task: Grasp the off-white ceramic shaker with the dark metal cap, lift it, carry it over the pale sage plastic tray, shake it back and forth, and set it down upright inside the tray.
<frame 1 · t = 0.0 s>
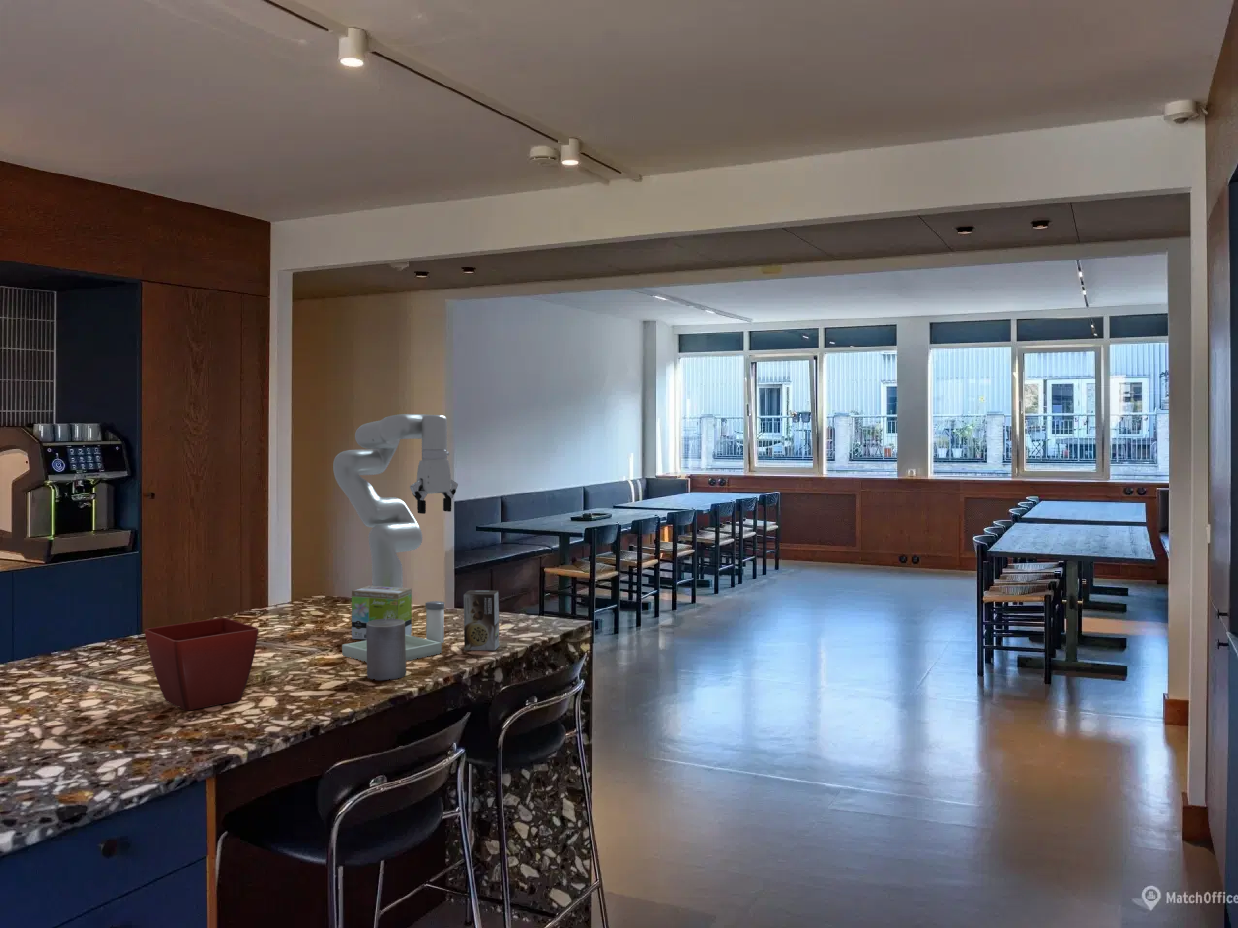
hand: (434, 512, 306), 37 cm above the kitchen island, tool pointing down, fingers open, 9 cm apart
plant pot: (202, 701, 232), on the kitchen island
tray: (392, 654, 279), on the kitchen island
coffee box: (481, 648, 288), on the kitchen island
shaker: (435, 641, 295), on the kitchen island
pillar candle: (386, 676, 256), on the kitchen island
tea box: (382, 638, 301), on the kitchen island
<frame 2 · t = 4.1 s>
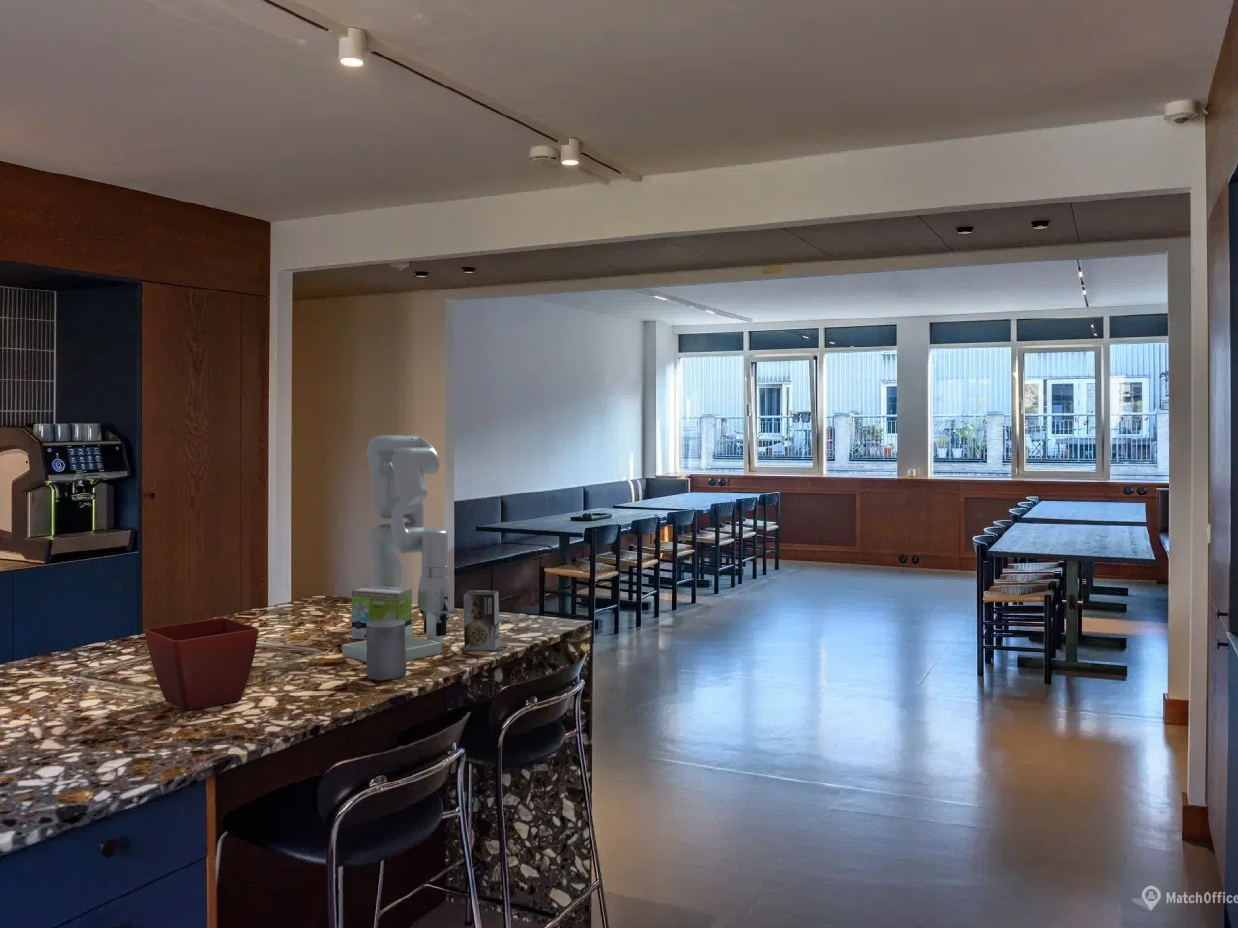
hand: (435, 633, 295), 2 cm above the kitchen island, tool pointing down, fingers closed on shaker, 5 cm apart
shaker: (435, 641, 295), on the kitchen island, touching gripper
everything else where it was.
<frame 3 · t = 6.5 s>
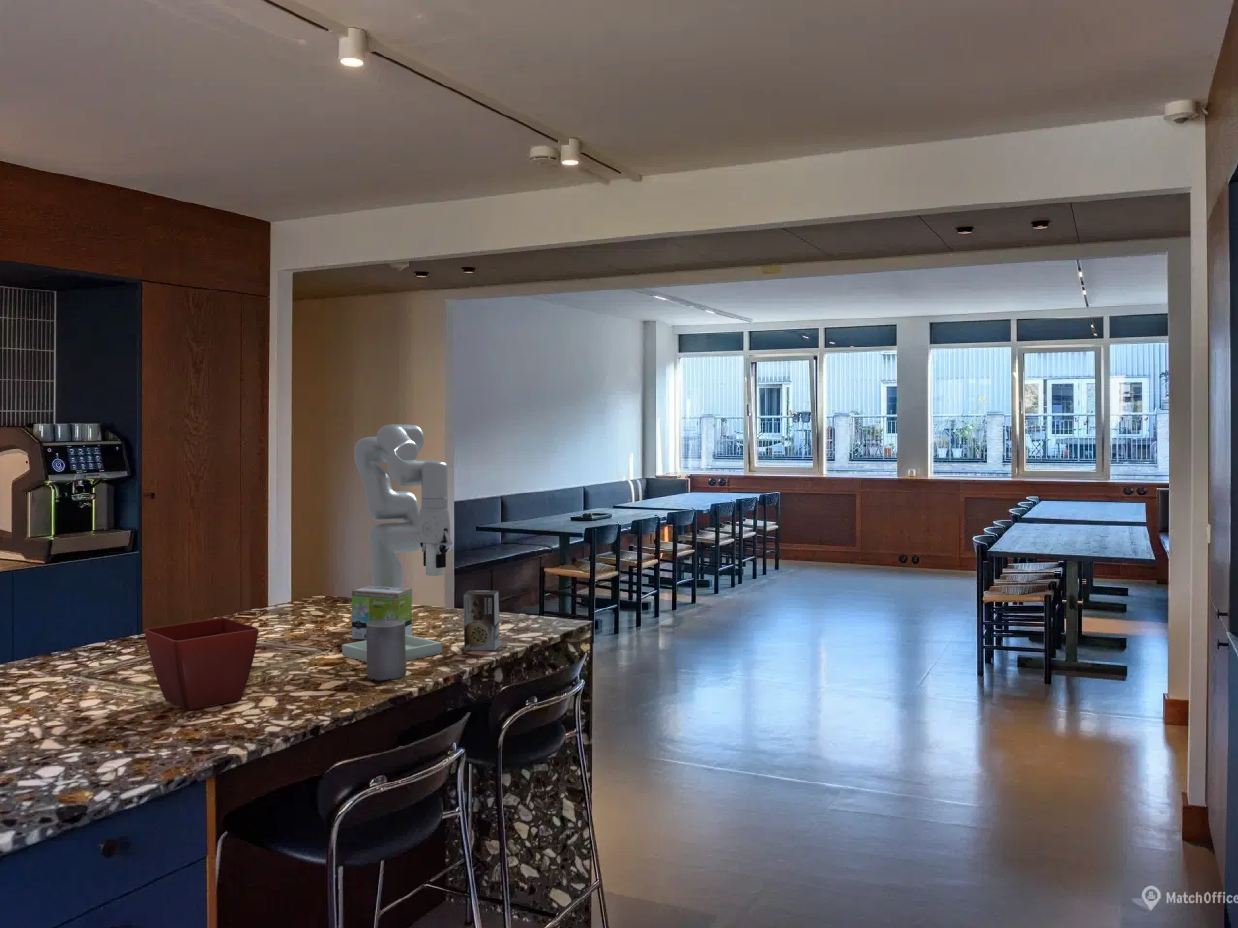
hand: (434, 565, 294), 22 cm above the kitchen island, tool pointing down, fingers closed on shaker, 5 cm apart
shaker: (434, 574, 295), point 20 cm above the kitchen island, touching gripper
everything else where it was.
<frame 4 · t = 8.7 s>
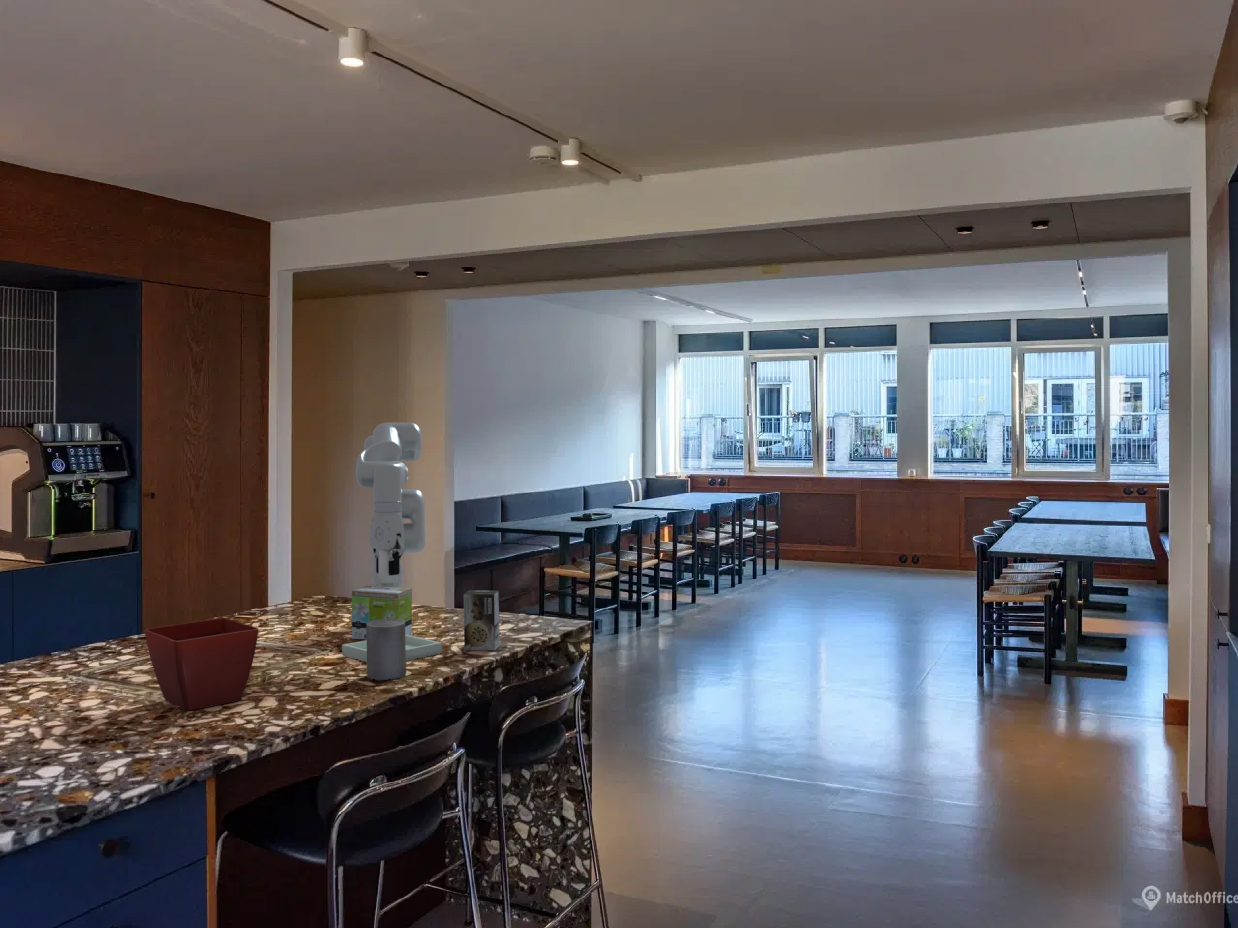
hand: (387, 572, 279), 22 cm above the kitchen island, tool pointing down, fingers closed on shaker, 5 cm apart
shaker: (387, 581, 280), point 20 cm above the kitchen island, touching gripper
everything else where it was.
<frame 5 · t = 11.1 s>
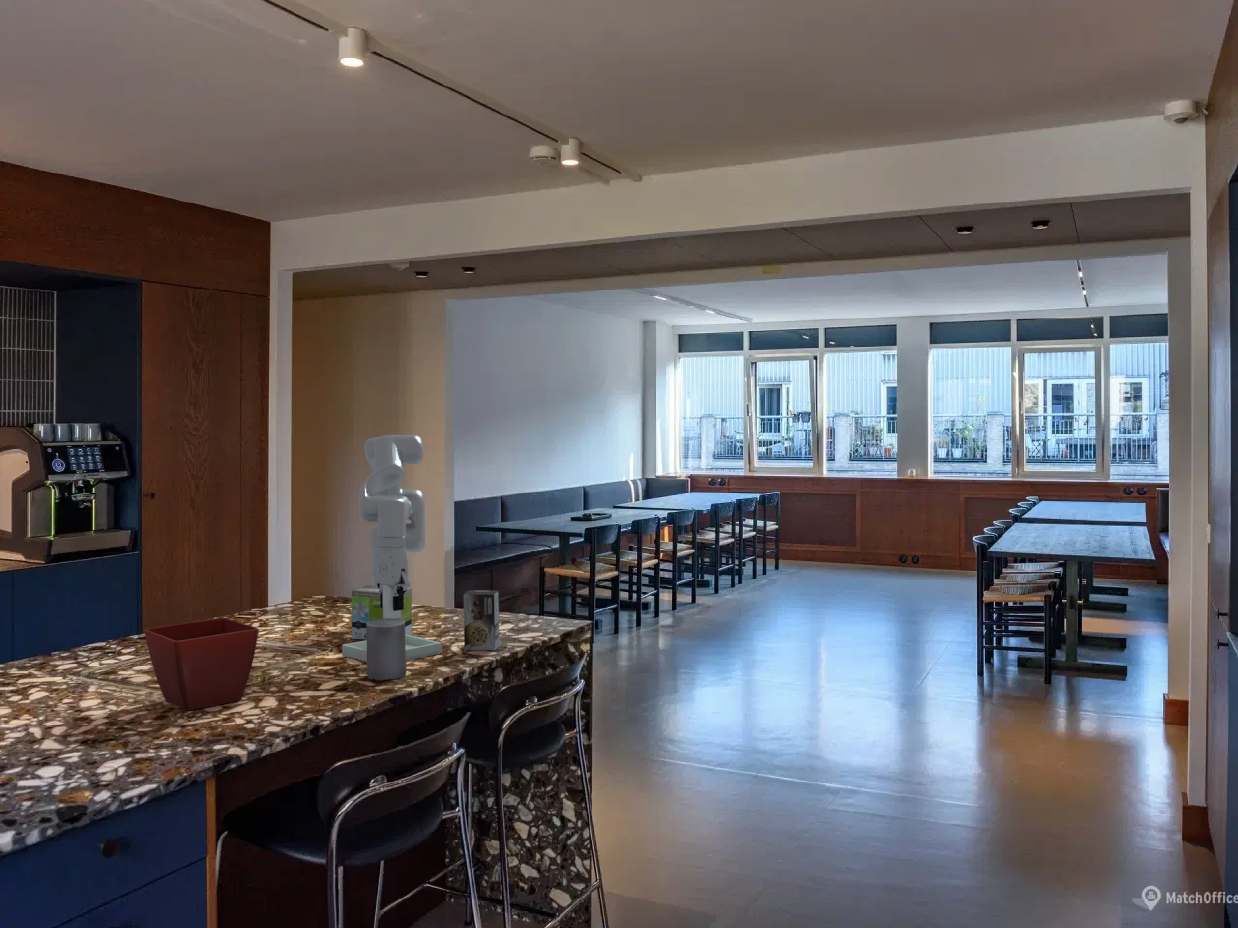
hand: (392, 608, 278), 13 cm above the kitchen island, tool pointing down, fingers closed on shaker, 5 cm apart
shaker: (392, 616, 279), point 10 cm above the kitchen island, touching gripper
everything else where it was.
when the fingers open (5 cm above the kitchen island, at t = 13.4 s): shaker drops 1 cm, resting on tray.
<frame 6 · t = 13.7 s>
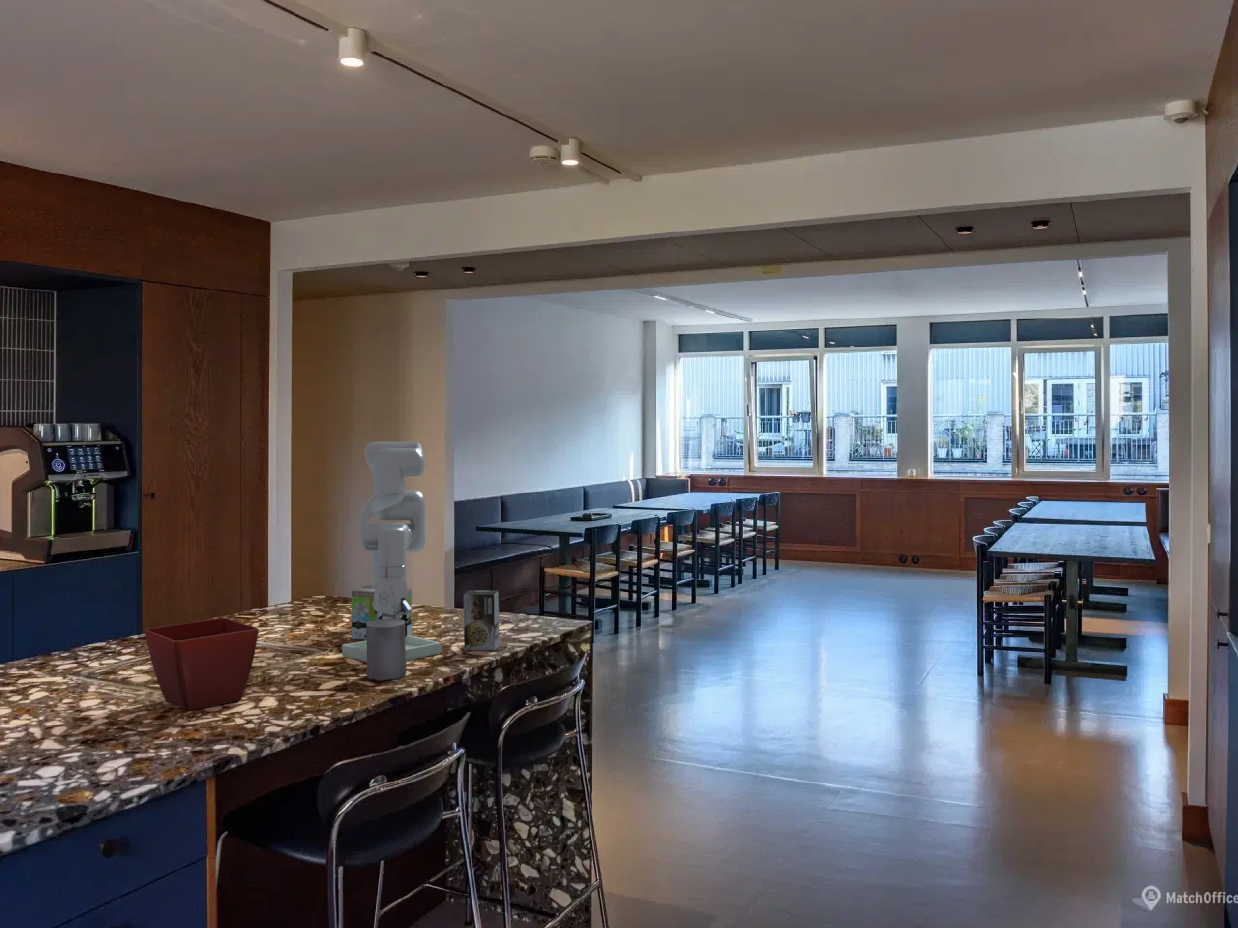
hand: (392, 634, 279), 5 cm above the kitchen island, tool pointing down, fingers open, 8 cm apart
shaker: (392, 650, 279), point 1 cm above the kitchen island, touching tray
everything else where it was.
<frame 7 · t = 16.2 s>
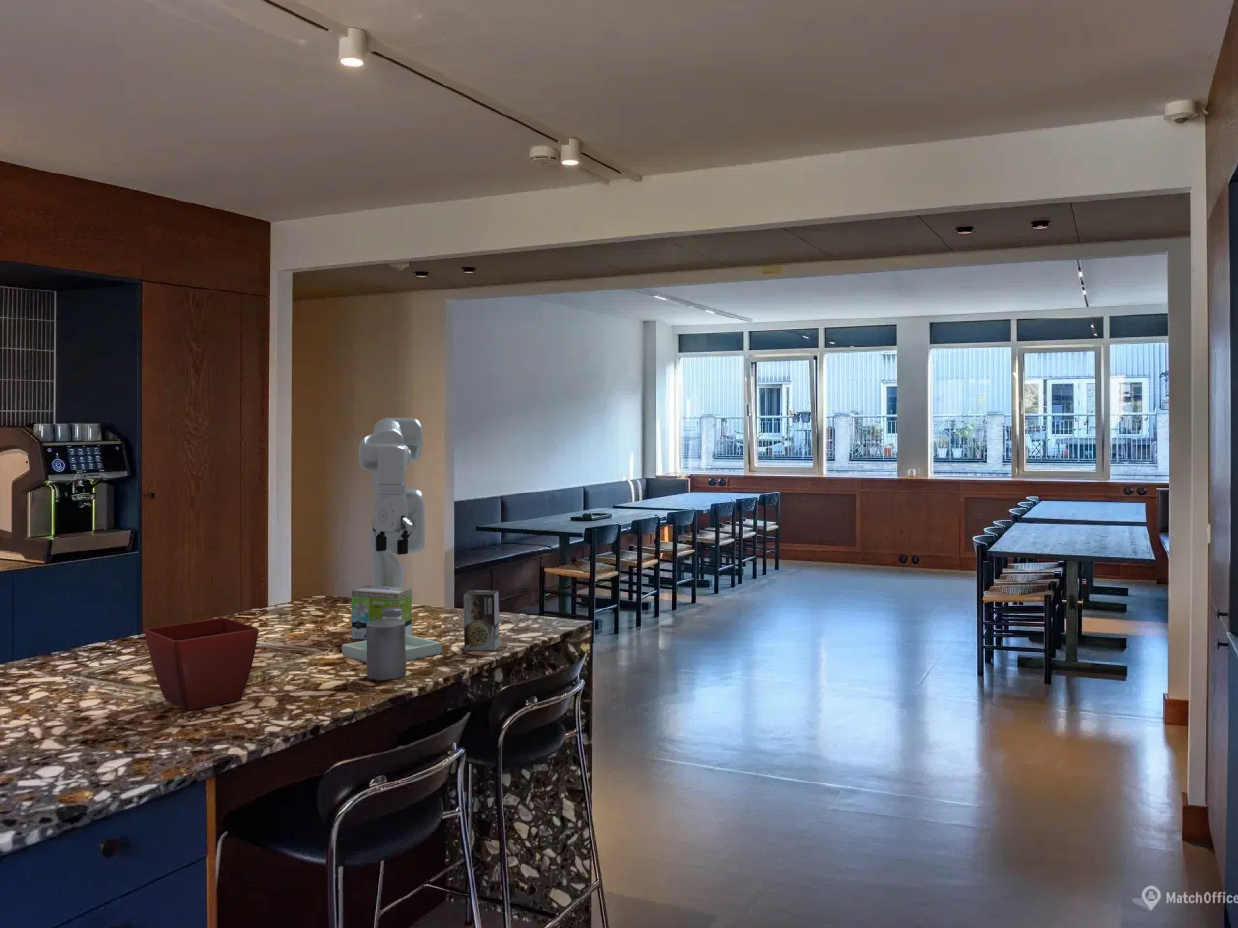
hand: (391, 552, 278), 28 cm above the kitchen island, tool pointing down, fingers open, 9 cm apart
nothing on the kitchen island moved.
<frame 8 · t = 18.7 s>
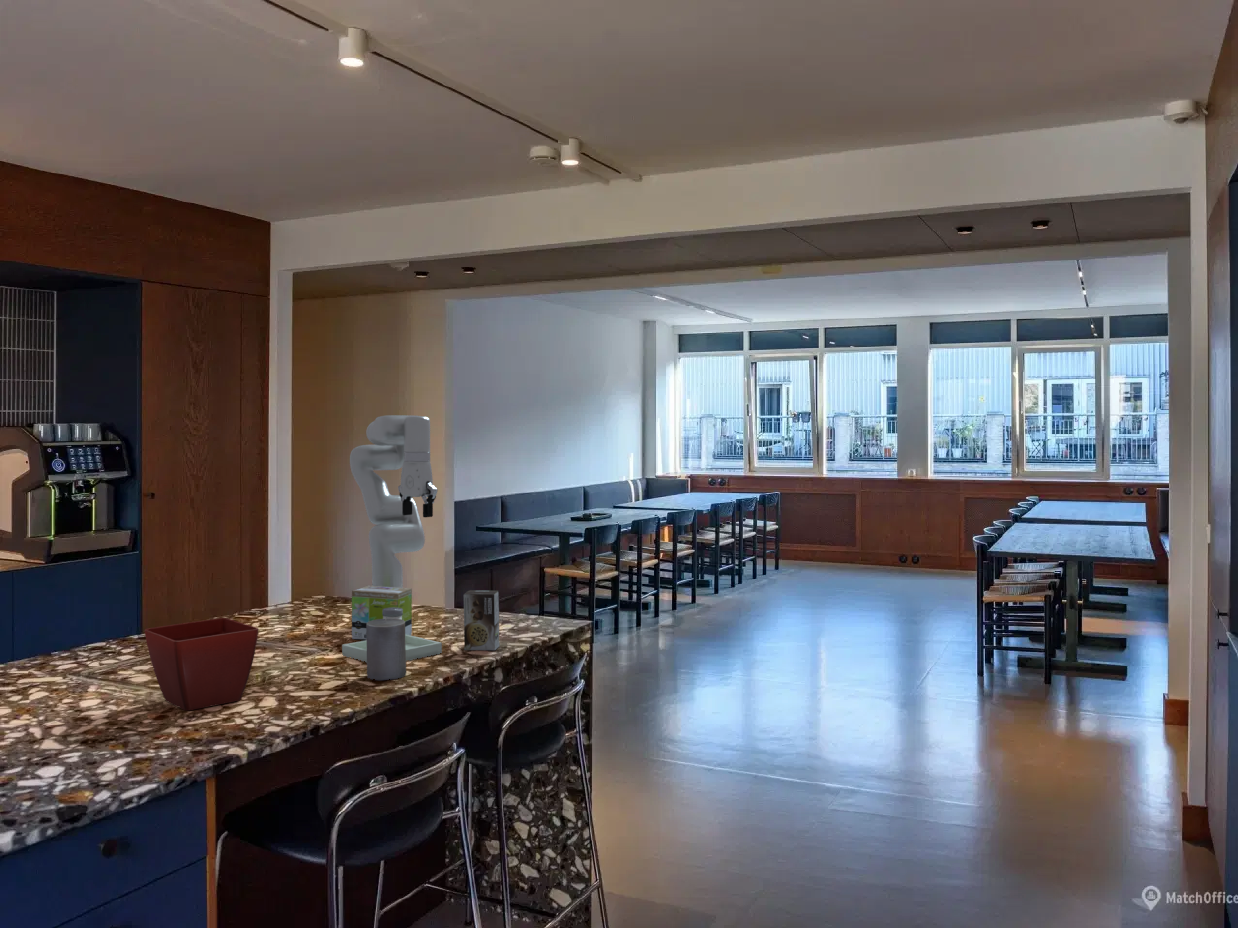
hand: (417, 515, 299), 36 cm above the kitchen island, tool pointing down, fingers open, 9 cm apart
nothing on the kitchen island moved.
at the end: shaker inside the target area on the tray (0.1 cm from its centre), point 1.1 cm above the tray's base; shaker tilted 1°; the gripper is holding nothing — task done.
